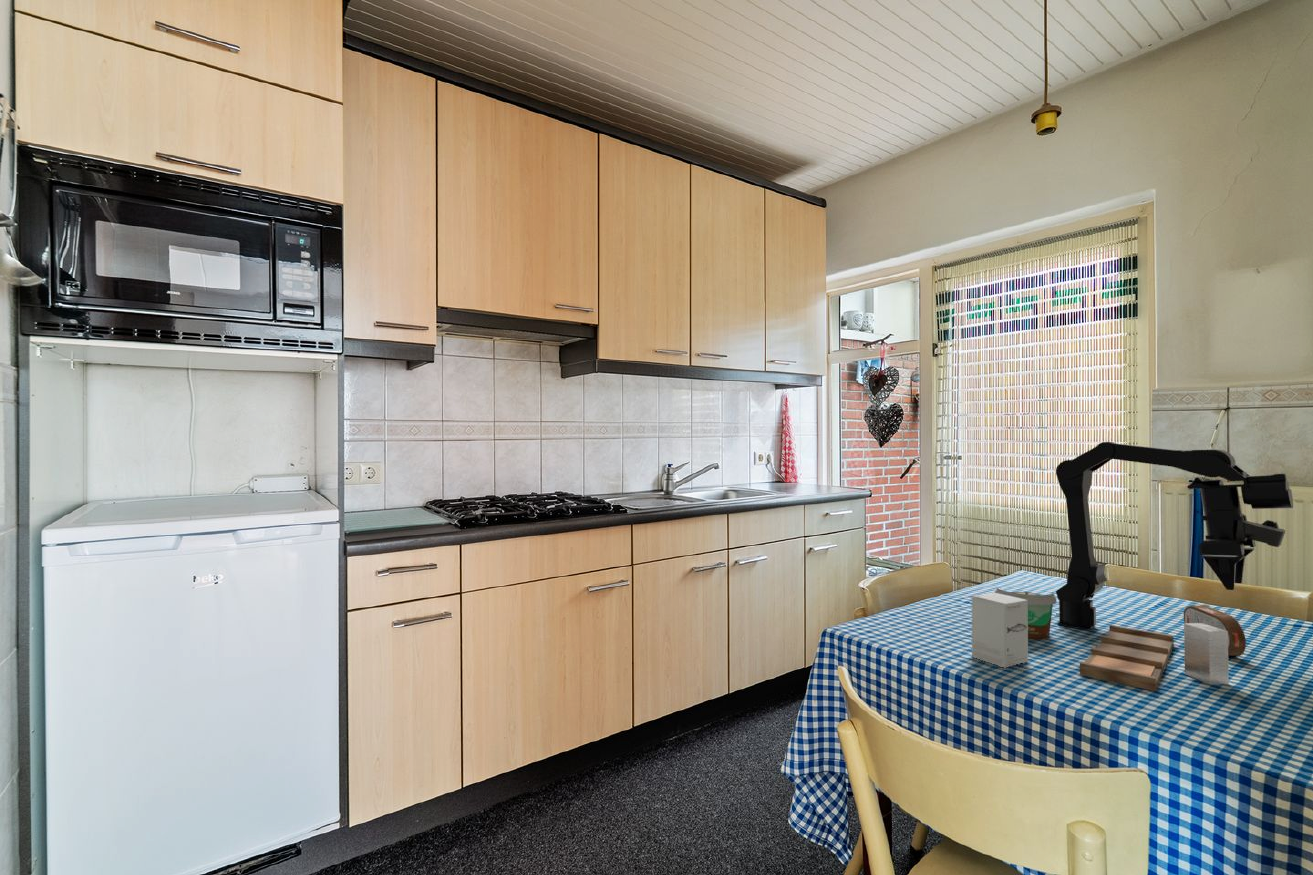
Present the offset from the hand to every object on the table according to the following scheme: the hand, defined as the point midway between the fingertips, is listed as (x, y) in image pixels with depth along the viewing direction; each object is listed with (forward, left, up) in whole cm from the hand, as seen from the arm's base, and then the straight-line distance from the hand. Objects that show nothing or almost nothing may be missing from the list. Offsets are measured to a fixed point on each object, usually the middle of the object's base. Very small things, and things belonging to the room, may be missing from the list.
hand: (1234, 586), depth 123 cm
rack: (-15, -17, -14) cm, 27 cm away
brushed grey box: (-4, -20, -14) cm, 25 cm away
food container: (-34, -15, -15) cm, 39 cm away
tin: (-4, +3, -15) cm, 15 cm away
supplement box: (-34, -36, -15) cm, 51 cm away
